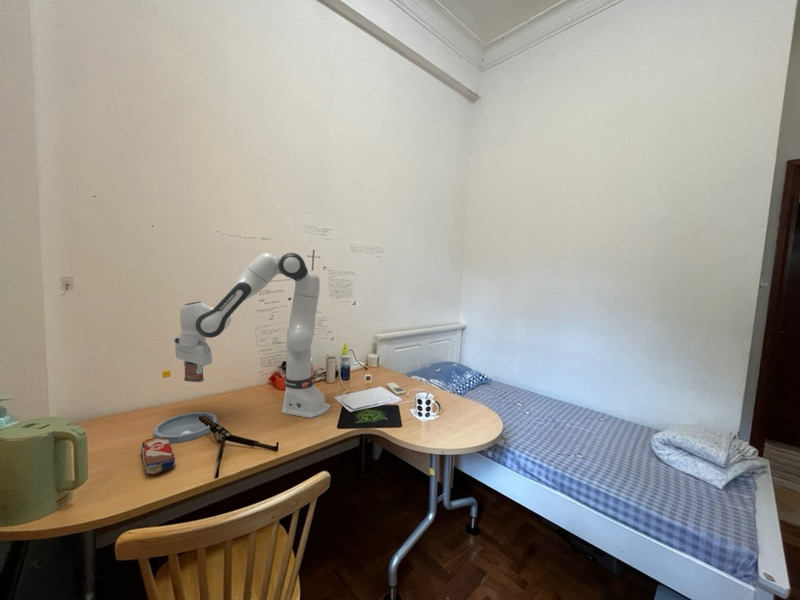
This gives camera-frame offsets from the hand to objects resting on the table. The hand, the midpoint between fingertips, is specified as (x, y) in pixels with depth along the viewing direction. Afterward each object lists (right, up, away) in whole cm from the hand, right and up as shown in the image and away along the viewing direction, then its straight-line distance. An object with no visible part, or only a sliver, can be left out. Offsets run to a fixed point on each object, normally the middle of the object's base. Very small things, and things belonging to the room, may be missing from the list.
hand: (193, 372), depth 130 cm
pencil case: (+9, -22, -31) cm, 39 cm away
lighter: (0, -4, 0) cm, 4 cm away
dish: (+4, -20, -10) cm, 23 cm away
